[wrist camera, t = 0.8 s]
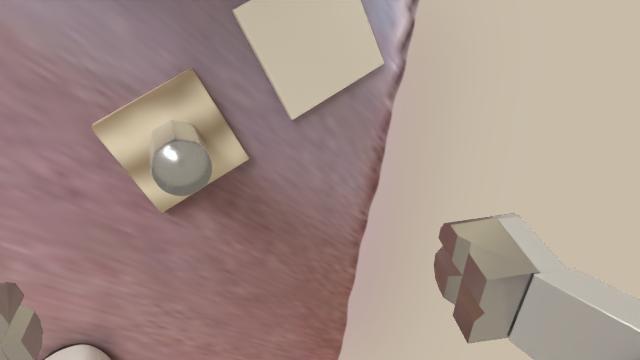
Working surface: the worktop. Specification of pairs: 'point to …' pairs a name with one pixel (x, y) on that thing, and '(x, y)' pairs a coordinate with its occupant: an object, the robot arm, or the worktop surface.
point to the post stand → (154, 110)
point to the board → (309, 47)
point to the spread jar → (77, 353)
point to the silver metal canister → (179, 158)
